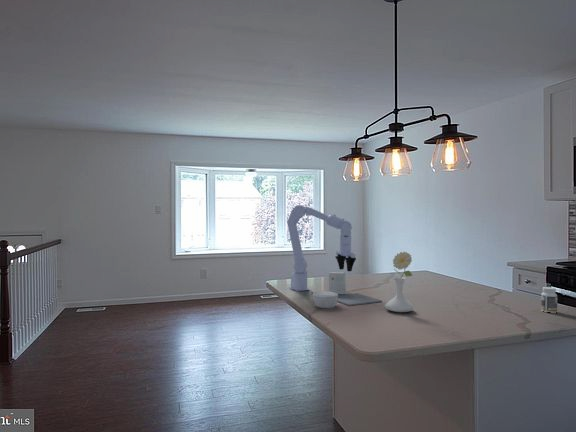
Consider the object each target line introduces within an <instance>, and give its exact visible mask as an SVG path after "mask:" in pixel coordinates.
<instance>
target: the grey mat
mask: <svg viewBox="0 0 576 432" xmlns="http://www.w3.org/2000/svg"><path fill="white" fill-rule="evenodd" d="M337 303H340V304H343V305H345V306H347V305H348V306H347V307H351V306H352V305H353V306H358V305H359V306H360V304H361V305H367V304H375V303H382V300H380V299H378V298H374V297H372V296H370V295H369V296H368V295H365V294H362V293H359V292H357V293H347V294H338V297H337Z"/></svg>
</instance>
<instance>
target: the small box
mask: <svg viewBox="0 0 576 432" xmlns="http://www.w3.org/2000/svg"><path fill="white" fill-rule="evenodd" d="M346 289H347V288H346V272H340V271H339V272H332V271H331V272H330V271H329V272H328V292H334V293H337V294H338V295H345V294H346V293H347V292H346Z"/></svg>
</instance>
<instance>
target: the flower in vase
mask: <svg viewBox="0 0 576 432" xmlns="http://www.w3.org/2000/svg"><path fill="white" fill-rule="evenodd" d="M392 259H393V260H392V264H393V267H394V269H393V270H394V271H395V273H398V274H399V275H400V276H393V279H394V280H395V284H396V294H395V296H394V297H393V298H391V299H390V300H389V301H387V302H386V303H385V306H384V307H385V308H386V309H387V310H389V311H391V312H395V313H396V312H397V313H407V312H408V313H409V312H411V311H412V312H413V310H414V309H415V307H414V305H413V304H412V303H411V302H410V301H409V300H408V299H406V298H405V296H404V295H403V287H404V282H405V281H406V279H407V278H406V277H413V274H412V273H411V271H410V270H406V269H407V268H408V267H409V266H410V265H411V263H412V261H413V260H412V255H411V254H410V253H408V252H407V251H403V252H402V251H400V252H399V253H397V254H396V255H394V258H392ZM403 269H404V270H403ZM398 270H403V273H401V272H400V271H398ZM404 276H405V277H404Z"/></svg>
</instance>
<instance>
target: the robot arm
mask: <svg viewBox="0 0 576 432" xmlns="http://www.w3.org/2000/svg"><path fill="white" fill-rule="evenodd" d="M304 216H306V217H307V216H312V217H315V218H318V219H320V220H322V221H325V222H326V225H327V226H329V227H332V228H335V229H337V230H340V234H339V250H338V251H336V253H335V255H336V256H335V259H336V261H337V264H338V268H339V270H344V268H345V263H346V270H347V272H352V271H353V267H354V263H355V262H356V260H357V257H356V253H354V252H352V229H353V226H352V223H351V222H349V221H348V220H345V218H340V217H338V216H337V215H336V214H329V215H327V214H325V213H322V212H321V211H318V210H316V209H315V208H312V207H308V206H305V205H302V204H298V205H295V206H294V208H292V209H291V212H290V215H289V217H288V219H287V221H286V222H287V227H288V233H289V237H290V243H291V247H292V253H293V258H294V259H293V260H294V266H293V268H294V271H293V272H292V273H291V275H290V286H289V289H291V290H294V291H296V292H301V291H310V290H311V288H309V287H308V271H307V266H308V263H307V260H306V259H305V257H304V254H303V249H302V244H301V239H300V236H299V235H300V234H299V229H298V223H299V221H300V220H301V219H302V218H303V217H304Z"/></svg>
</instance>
